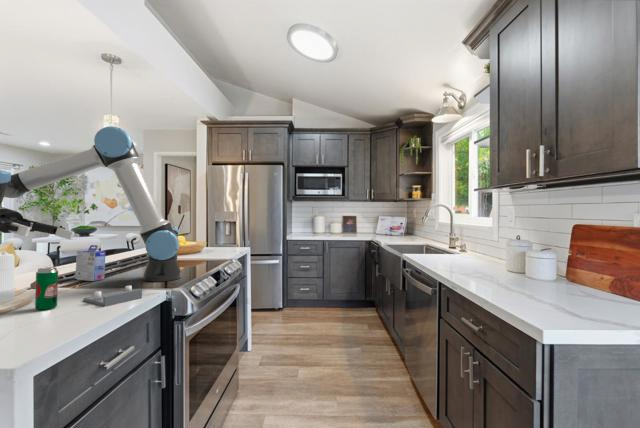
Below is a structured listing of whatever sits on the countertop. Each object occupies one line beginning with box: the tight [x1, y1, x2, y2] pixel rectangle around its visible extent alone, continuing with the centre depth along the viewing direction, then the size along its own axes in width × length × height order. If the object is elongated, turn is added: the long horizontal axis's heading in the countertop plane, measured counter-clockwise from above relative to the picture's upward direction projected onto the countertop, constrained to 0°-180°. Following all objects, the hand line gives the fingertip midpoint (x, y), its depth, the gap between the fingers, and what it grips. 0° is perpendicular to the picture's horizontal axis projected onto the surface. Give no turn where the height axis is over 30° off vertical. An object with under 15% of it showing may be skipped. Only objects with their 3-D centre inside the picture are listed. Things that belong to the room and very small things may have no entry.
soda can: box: [34, 266, 59, 312], centre depth 96 cm, size 5×5×12 cm
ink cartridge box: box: [74, 244, 106, 282], centre depth 137 cm, size 10×6×14 cm, turn 78°
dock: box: [83, 285, 143, 307], centre depth 107 cm, size 12×12×4 cm
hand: (51, 234), depth 100 cm, fingers open, 13 cm apart
